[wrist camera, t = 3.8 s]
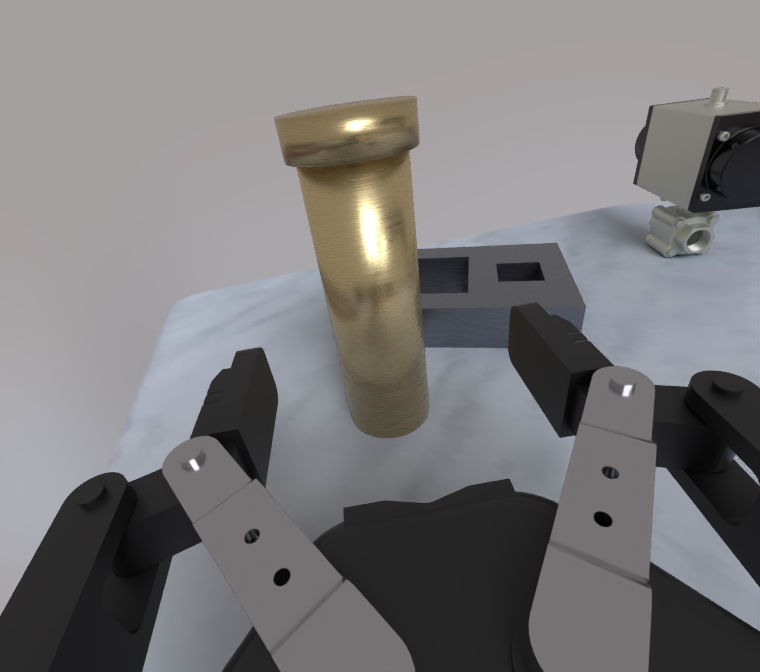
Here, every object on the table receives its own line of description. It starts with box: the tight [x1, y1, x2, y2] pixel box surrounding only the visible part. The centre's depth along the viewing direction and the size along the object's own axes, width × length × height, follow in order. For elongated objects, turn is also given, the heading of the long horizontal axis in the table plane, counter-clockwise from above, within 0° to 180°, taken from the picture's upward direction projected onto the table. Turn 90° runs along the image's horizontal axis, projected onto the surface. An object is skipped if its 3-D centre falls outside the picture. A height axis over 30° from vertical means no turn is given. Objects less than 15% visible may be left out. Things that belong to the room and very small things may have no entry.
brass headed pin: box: [274, 96, 429, 438], centre depth 19 cm, size 5×5×15 cm
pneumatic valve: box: [633, 87, 760, 258], centre depth 32 cm, size 6×12×12 cm, turn 177°
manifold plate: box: [417, 243, 586, 348], centre depth 30 cm, size 14×10×3 cm
